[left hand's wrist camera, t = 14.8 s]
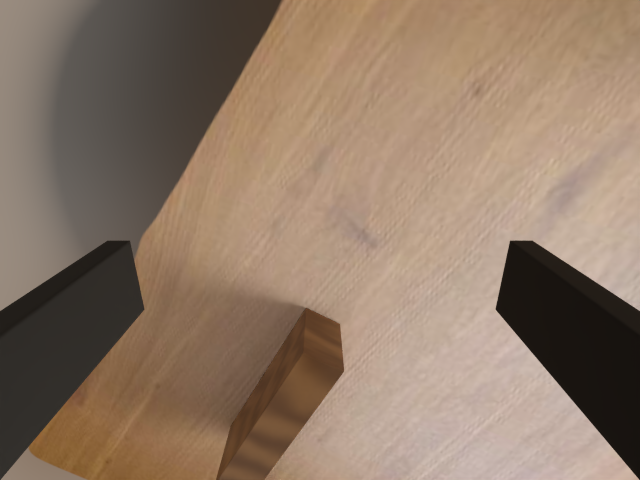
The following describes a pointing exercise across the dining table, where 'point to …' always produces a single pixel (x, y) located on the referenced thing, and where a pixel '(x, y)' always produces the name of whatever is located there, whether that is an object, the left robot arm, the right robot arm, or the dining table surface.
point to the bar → (284, 398)
